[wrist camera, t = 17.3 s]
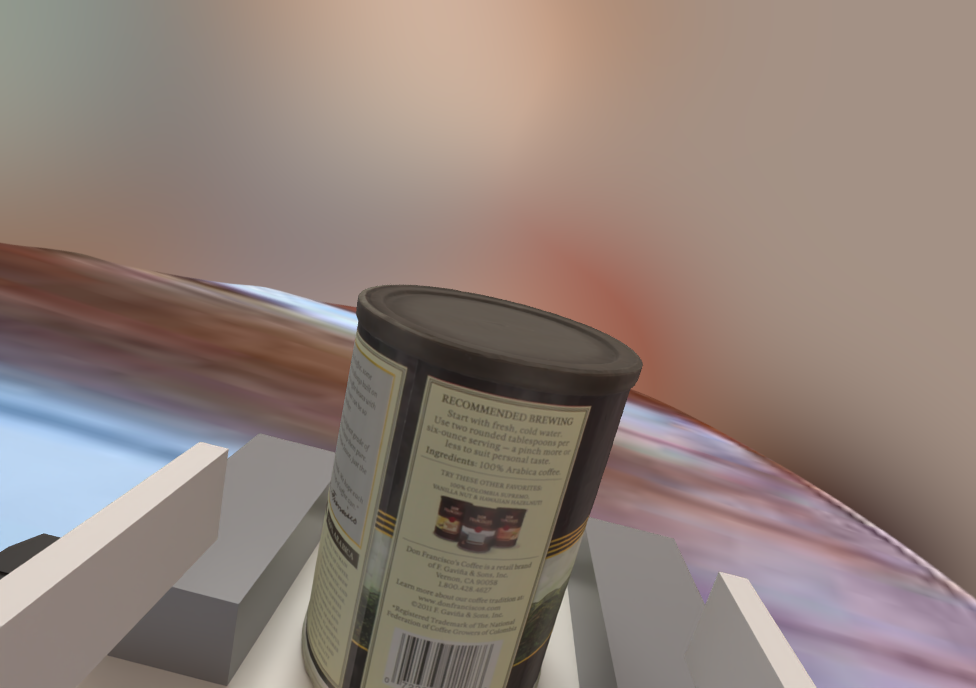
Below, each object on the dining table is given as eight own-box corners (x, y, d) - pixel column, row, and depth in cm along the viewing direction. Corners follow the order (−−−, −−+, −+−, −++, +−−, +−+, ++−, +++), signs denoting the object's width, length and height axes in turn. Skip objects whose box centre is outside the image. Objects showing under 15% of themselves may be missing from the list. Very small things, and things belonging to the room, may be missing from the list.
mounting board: (811, 1017, 14) (826, 993, 14) (-67, 787, 14) (-68, 760, 14) (656, 586, 30) (661, 572, 30) (250, 483, 31) (252, 468, 30)
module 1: (226, 686, 18) (238, 604, 17) (88, 650, 18) (93, 566, 17) (338, 512, 28) (348, 456, 28) (251, 489, 29) (259, 433, 28)
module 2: (731, 816, 18) (768, 740, 17) (590, 780, 18) (620, 702, 17) (653, 592, 28) (673, 538, 27) (565, 570, 28) (582, 515, 28)
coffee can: (469, 538, 29) (533, 298, 26) (589, 700, 21) (707, 377, 17) (277, 570, 23) (325, 268, 20) (335, 809, 15) (435, 363, 12)
